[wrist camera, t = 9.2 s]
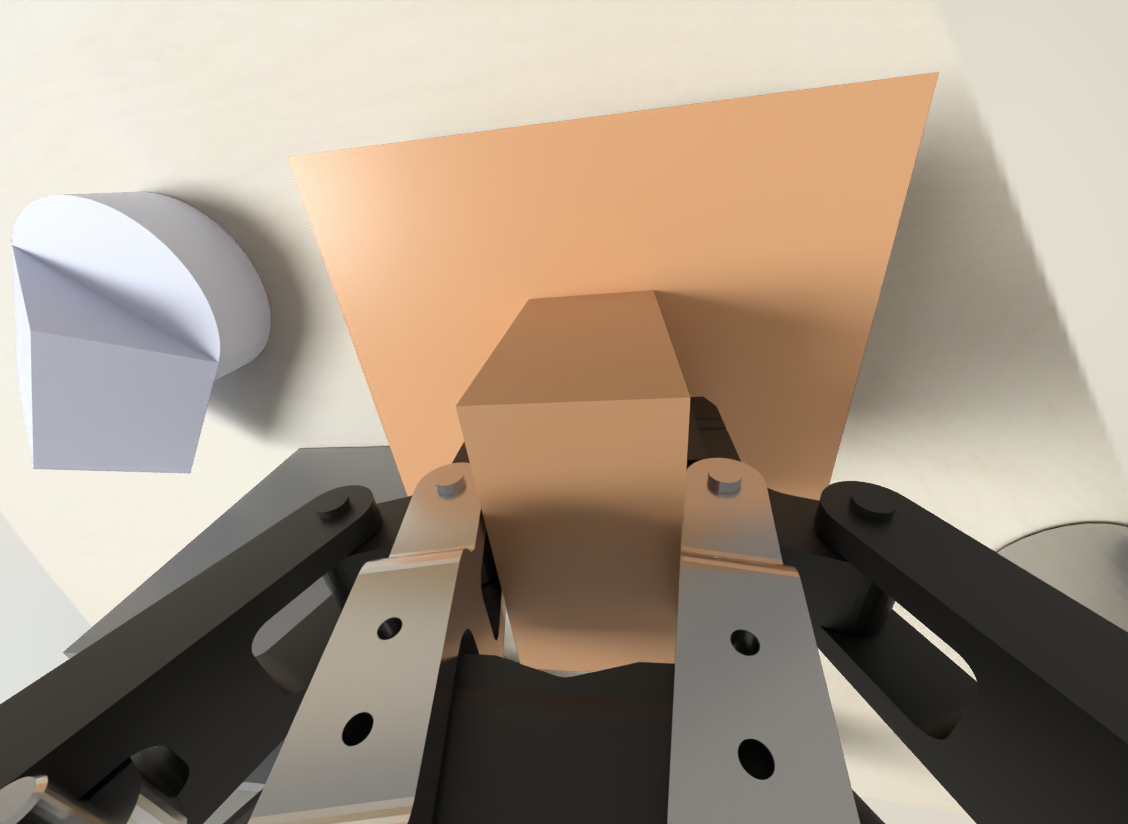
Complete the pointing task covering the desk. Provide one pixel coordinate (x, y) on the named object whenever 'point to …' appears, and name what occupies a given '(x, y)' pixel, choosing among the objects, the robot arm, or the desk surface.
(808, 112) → the lid
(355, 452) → the storage box
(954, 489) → the desk surface
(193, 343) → the wedge on round base
